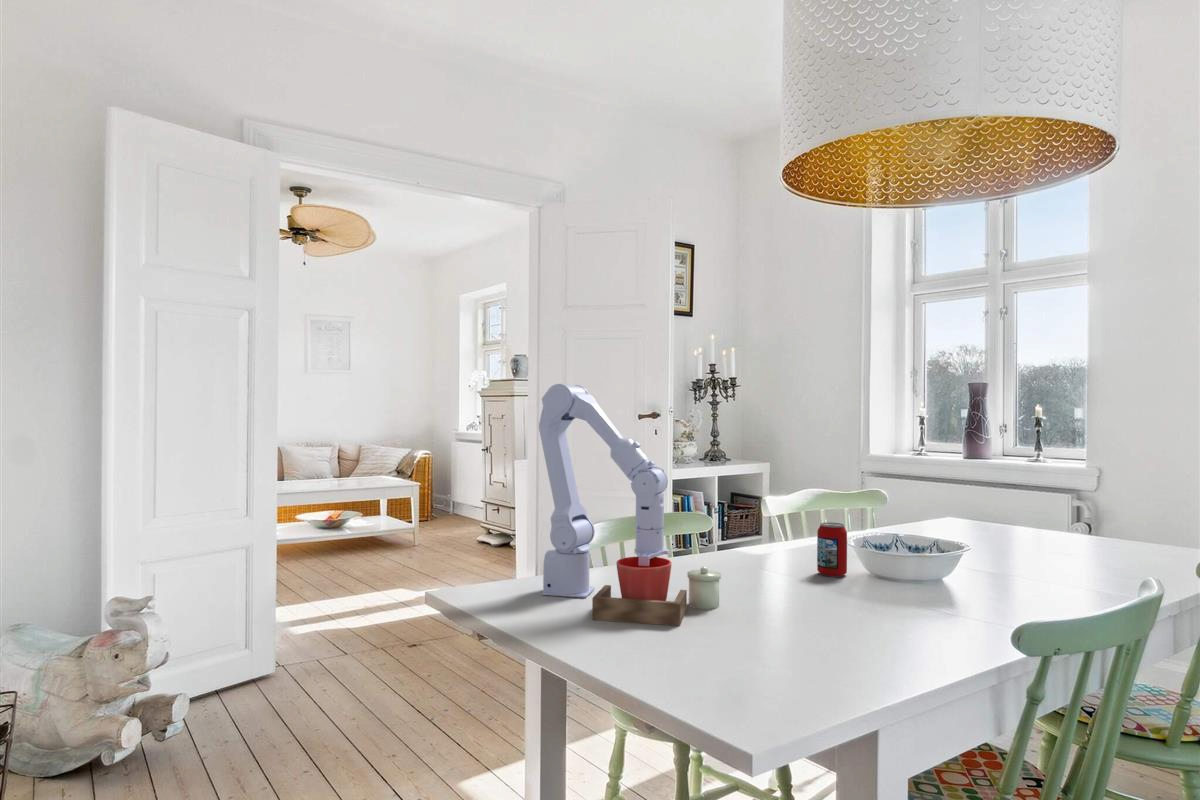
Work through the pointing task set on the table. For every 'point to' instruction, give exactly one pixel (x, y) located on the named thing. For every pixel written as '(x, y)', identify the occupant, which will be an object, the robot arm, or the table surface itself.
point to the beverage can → (832, 549)
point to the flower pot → (644, 578)
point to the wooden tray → (638, 609)
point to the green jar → (704, 588)
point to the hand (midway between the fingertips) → (649, 594)
